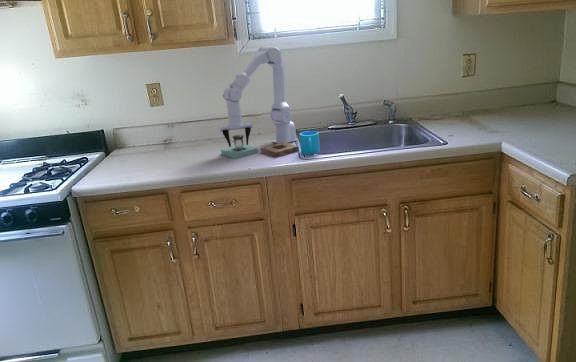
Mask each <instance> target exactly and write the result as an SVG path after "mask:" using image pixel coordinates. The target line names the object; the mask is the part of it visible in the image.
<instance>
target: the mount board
mask: <svg viewBox="0 0 576 362" xmlns="http://www.w3.org/2000/svg"><path fill="white" fill-rule="evenodd" d="M299 148H300V147H299V146H298V145H295V144H292V143H289V142H288V143H284V142H281V143H275V144H271V145H270V144H269V145H267V146H262V147H261V148H260V153H263V154H266V155H269V156H271V157H275V158H278V157H281V156H285V155H289V154H292V153H297V152H299V151H300V149H299Z"/></svg>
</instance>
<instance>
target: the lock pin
mask: <svg viewBox="0 0 576 362" xmlns="http://www.w3.org/2000/svg"><path fill="white" fill-rule="evenodd" d="M232 138H233V143H234V146H235V151H240V150H244V144H245V143H244V134H235V135H233V136H232Z"/></svg>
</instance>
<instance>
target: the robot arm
mask: <svg viewBox="0 0 576 362" xmlns="http://www.w3.org/2000/svg"><path fill="white" fill-rule="evenodd" d="M265 64H268V65H269V66H270V67H271V68H272V79H273V80H272V81H273V82H272V83H273V86H272V87H273V101H274V102H273V104H272V105H271V110H270V113H269V116H270V119H271V120H272V122H273V126H274V135H275V136H274V137H275V140H271V142H272V143H275V144H278V143H281V142H284V143H288V144H289V143H292V142H295V141H298V138H297V134H296V133H297V132H296V124H295V123H294V122H293V121H292V118H293V115H292V111H291V107H290V106H289V104H288V103H287V94H286V92H287V91H286V66H285V65H286V63H285V61H284V58H283V56H282V51H281V49H280V48H278V47H277V46H260V47H259V48H258V50H257V51H255V53H254V56H253V58H252V59H251V60H250V62H249V64H248V65H247V67H246V68H245V69H244V72H240V73H238V74H236V75H235V78H234V80H233V81H232V82H231V83H230V84H229V87H226V88H225V89H223V94H222V97H223V99H224V100H225V102H226V109H227V115H228V116H227V119H228V124H227V125H221V126H219V132H220V133H221V132H222V135H223V136H224V138H225V140H226V141H227V144H228V148H230V147H232V144H231V139H230V131H234V130H235V131H236V130H243V129H244V133H245V140H246V141H245V144H246V145H249V137H250V134H251V132H252V129H254V126H253V122H249V123H248V122H246V123H244V122H243V118H242V110H241V108H242V107H241V103H240V100H241V98H242V93H243V92H244V90H245V89H246V88H247V86H248V85H249V84H250V83H251V77H252V76H253V74H254V73H255V72H256V71H257V70H258V69H259V67H260V66H261V65H265Z"/></svg>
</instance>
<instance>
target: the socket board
mask: <svg viewBox="0 0 576 362" xmlns="http://www.w3.org/2000/svg"><path fill="white" fill-rule="evenodd" d="M220 151H221V155H224V156H227V157H229V158H231V159H239V158H243V157H246V156H250V155H254V154H256V153H257V154H258V153H259V150H258V147H255V146H253V145H249V144H248V145H247V144H246V143H244V150H240V151H235V145H234V146H231V147H226V148H221V150H220Z"/></svg>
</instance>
